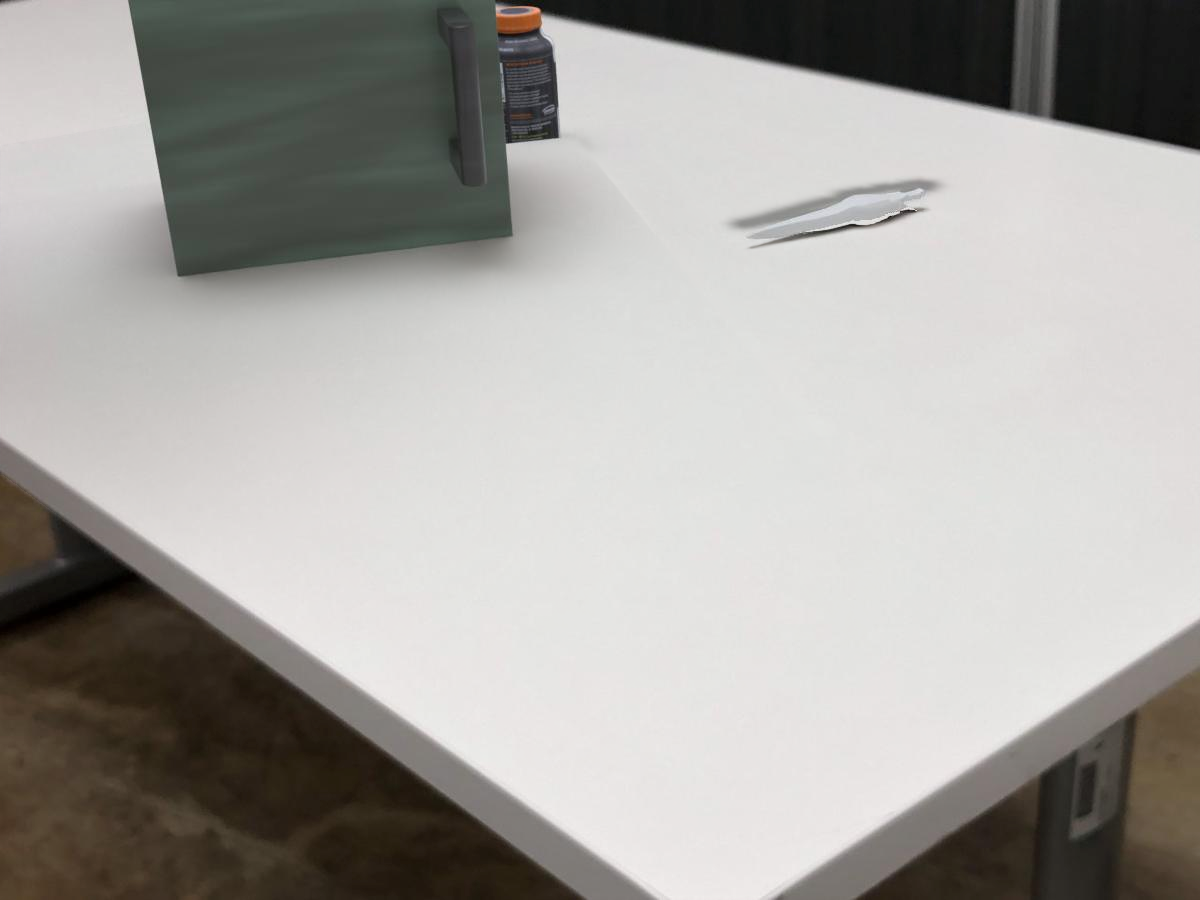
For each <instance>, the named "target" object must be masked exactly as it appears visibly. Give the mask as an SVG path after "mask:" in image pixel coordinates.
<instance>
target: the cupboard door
mask: <svg viewBox="0 0 1200 900" xmlns="http://www.w3.org/2000/svg"><path fill="white" fill-rule="evenodd" d="M127 2H128V8H129V14H130V20H131V24H132V31H133V36H134V41H135V48H136V53H137V59H138V65H139V70H140V75H141V81H142V86H143V91H144V97H145V98H144V99H145V103H146V109H147V114H148V119H149V125H150V130H151V136H152V142H153V147H154V153H155V158H156V164H157V170H158V175H159V180H160V185H161V187H160V188H161V191H162V197H163V202H164V210H165V214H166V219H167V224H168V230H169V235H170V241H171V242H170V243H171V247H172V253H173V258H174V264H175V269H176V276H177V277H187V276H195V275H203V274H212V273H220V272H227V271H237V270H245V269H251V268H261V267H270V266H277V265H286V264H295V263H303V262H310V261H319V260H326V259H335V258H343V257H351V256H360V255H368V254H374V253H376V254H377V253H384V252H393V251H401V250H409V249H417V248H418V249H419V248H427V247H434V246H443V245H449V244H450V245H451V244H459V243H467V242H476V241H484V240H493V239H501V238H509V237H513V236H514V234H513V220H512V209H511V208H512V207H511V195H510V179H509V168H508V154H507V153H508V152H507V144H506V139H505V126H504V112H503V99H502V85H501V72H500V59H499V45H498V32H497V19H496V10H497V7H496V6H497V5H496V0H127Z"/></svg>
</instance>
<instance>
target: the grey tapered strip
mask: <svg viewBox="0 0 1200 900" xmlns="http://www.w3.org/2000/svg"><path fill="white" fill-rule="evenodd" d="M925 193H926V192H925V189H923V188H921V187H918V188H916V189H914V190H910V191H905V192H902V191H900V190H898V191H893V192H886V193H880V194H878V193H877V194H876V193H872V194H871V193H870V194H868V193H867V194H864V193H863V194H853V195H850V196H848V197H847V198H844V199H843V200H842V201H840V202H838V203H835V204H833V205H830V206H828V207H826V208H822V209H818V210H814V211H811V212H808V213H806V214H803V215H799V216H795V217H793V218H789V219H786V220H783V221H780V222H777V223H774V224H771V225H768V226H766V227H763V228H760V229H758V230H755V231H753V232H751V233H749V234H748V235H746V236H745V238H746V239H750V240H767V239H768V240H769V239H779V238H780V239H781V238H785V237H786V236H787V237H791V236H790V235H792V236H794V235H793V234H796V235H798V234H797V233H800V232H806V231H810V230H815V229H821V228H825V227H829V226H833V225H838V224H842V223H845V222H850V221H852V220H854V221H860V220H872V219H875V218H880V217H882V216H885V214H888V213H892V212H893V213H894V212H899V211H901V210H902V209H904V208H906V207H908V206H909V205H907V204H905V203H904V202H908V201H913V200H919V199H921V198H922V197H925V195H926V194H925ZM906 205H907V206H906ZM784 236H785V237H784ZM787 237H786V238H787Z"/></svg>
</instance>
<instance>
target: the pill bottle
mask: <svg viewBox="0 0 1200 900" xmlns="http://www.w3.org/2000/svg"><path fill="white" fill-rule="evenodd" d="M496 19H497V32H498V45H499V59H500V72H501V85H502V99H503V112H504V126H505V139H506V145H509V144H517V143H528V142H536V141H544V140H545V141H547V140H554V139H555V140H556V139H561V138H562V135H561V121H560V105H559V92H558V91H559V90H558V75H557V61H556V47H555V42H554V40H553V38H552V37H551V36H550V35H549V34H547V33H545V32H543V30H542V25H543V21H542V12H541V9H540V8H539V7H535V6H526V5H525V6H524V5H522V6H521V5H519V6H508V7H502V8H498V9H496Z"/></svg>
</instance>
